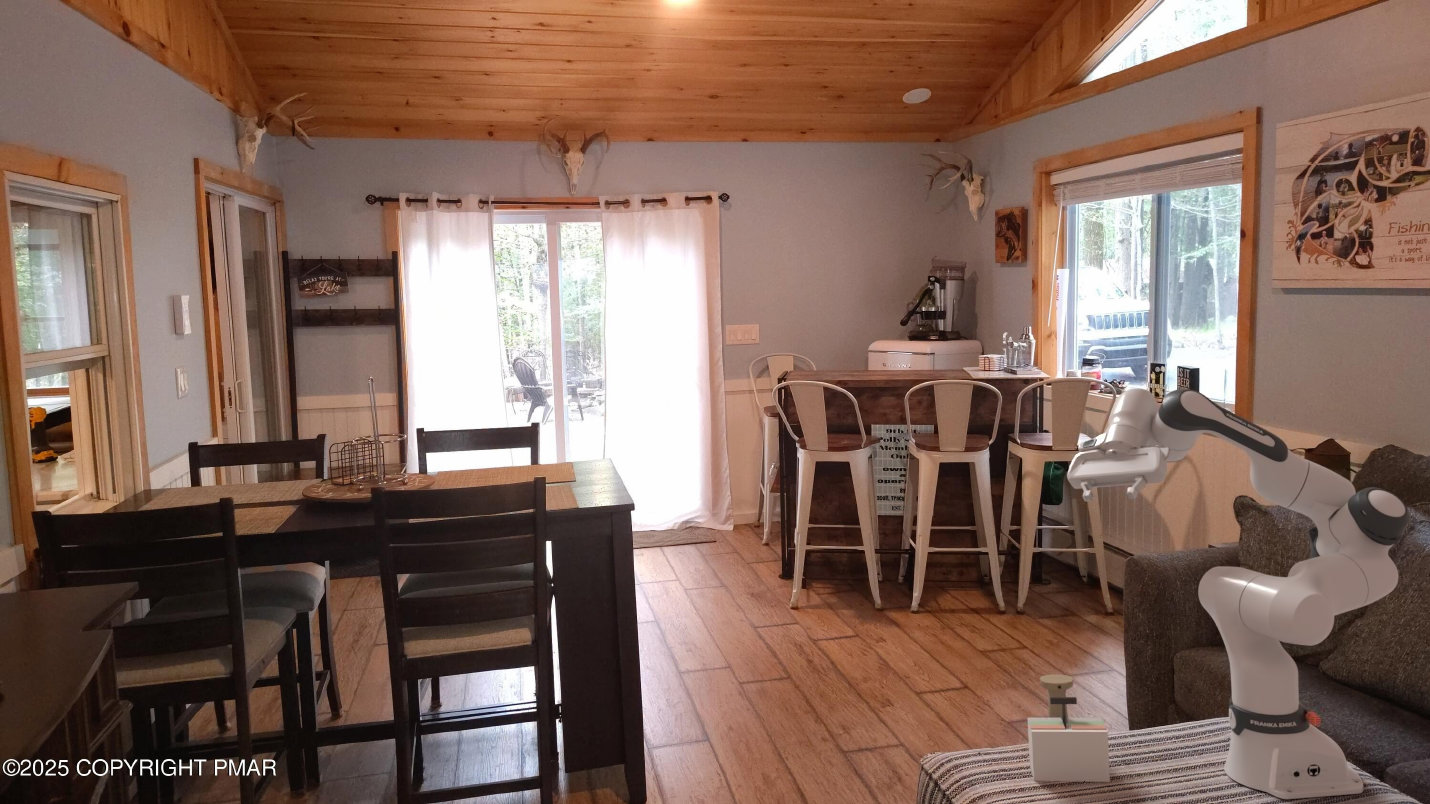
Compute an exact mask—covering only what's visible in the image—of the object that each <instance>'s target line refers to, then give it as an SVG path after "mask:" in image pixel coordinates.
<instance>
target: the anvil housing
mask: <svg viewBox="0 0 1430 804" xmlns="http://www.w3.org/2000/svg"><path fill="white" fill-rule="evenodd" d="M1067 722H1068V729H1065V726H1064V724H1063V721H1062V719H1061V718H1048V717H1027V733H1028V755H1029V757H1028V759H1029V767H1030V771H1031V775H1032V778H1033V781H1034V782H1083V783H1084V781H1085V782H1087V783H1088V782H1090V783H1091V782H1093V783H1094V782H1095V783H1097V782H1098V783H1101V782H1102V783H1110V782H1111V778H1110V777H1111V776H1110V754H1109V753H1110V751H1109V747H1110V746H1109V732H1108V731H1109V730H1108V729H1107V726H1106V724H1105V722H1104V721H1103V718H1102V717H1068V718H1067Z"/></svg>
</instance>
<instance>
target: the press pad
mask: <svg viewBox="0 0 1430 804" xmlns="http://www.w3.org/2000/svg"><path fill="white" fill-rule="evenodd" d="M1077 699H1078V698H1077V696H1066V697H1050V704H1062V721H1063V724H1064V726H1065V729H1068V722H1066V711H1065V704H1067V705H1078V704H1077V703H1078V700H1077Z"/></svg>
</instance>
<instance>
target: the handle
mask: <svg viewBox="0 0 1430 804" xmlns="http://www.w3.org/2000/svg"><path fill="white" fill-rule="evenodd" d="M1039 681H1040V682H1039V683H1040V686H1041V687H1043V688H1044V689H1045V690H1047V692H1048V693H1047V694H1048V710H1047V711H1048V713H1047V718H1061V719H1062V704H1050V697H1067V696H1066V693H1067V690H1069V689H1071V688H1072V687H1074V679H1073V677H1072V676H1070V675H1065V674H1046V675H1042V676H1040V677H1039ZM1067 706H1068V704H1065V711H1066V722H1067V718H1069V716H1068V715H1069V714H1068V713H1069V712H1068V707H1067Z"/></svg>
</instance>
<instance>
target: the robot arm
mask: <svg viewBox="0 0 1430 804" xmlns="http://www.w3.org/2000/svg"><path fill="white" fill-rule="evenodd" d="M1107 424H1108V426H1107V428H1106V429H1105V431H1104V433H1102V434H1100V435H1098V436H1095V437H1093V438H1091V439H1087V440H1085V441H1082V442H1080V443H1079V444H1078V446H1077V448H1078V451H1079V452H1077V454H1075V455H1074V456H1073V458H1072V460H1071V463H1070V465H1069V467H1068V471H1067V473H1066V478H1067V481H1068V482H1069V484H1070V485H1071V486H1072V488H1073V489H1075V490H1079V489H1082V490H1083V492H1082V499H1083V501H1084V502H1093V501H1094V497H1095V495H1094V493H1092V488H1093V489H1094V488H1106V487H1117V486H1118V487H1119V486H1120V487H1121V486H1129V487H1127V491H1126V496H1127V497H1128V499H1129V500H1130V499H1131V500H1132V499H1133V500H1134V499H1137V498H1138V494H1139V493H1140V492H1141V491H1142V490H1143V489H1144V488H1146V486H1147V485H1146V484H1158V483H1159V484H1160V483H1162V482H1163V481H1164V480H1165V479H1166V478H1167V473H1168V472H1167V471H1168V463H1176V462H1180V461H1182V460H1184V459H1185V458H1186V456H1187V455H1188V454H1189V453H1190V451H1191V450H1192V449H1193V447H1194V446H1195V444H1196V442H1197V441H1198V439H1199V438H1200V436H1201V435H1202V434H1210V435H1213V436H1215V437H1217V438H1219V439H1221V440H1222V441H1225V442H1226V443H1229V444H1230V445H1233V446H1235V447H1237V448H1238V449H1240V450H1242V452H1245V454H1246V455H1247V456H1248V458H1249V460H1250V469H1249V478H1250V482H1251V486H1252V487H1253V490H1254V492H1256V494H1257V495H1258V496H1259V497H1261V498H1262V499H1264V500H1265V501H1268V502H1269V503H1272V504H1274V505H1277V506H1280V507H1282V508H1284V509H1288V510H1290V511H1293V512H1296V513H1299V514H1301V515H1303V516H1306V517H1308V518H1309V519H1310V520H1312V521H1313V523H1314V525H1315V526H1313V527H1312V528H1310V529H1309V530H1308V534H1307V535H1308V538H1309V541H1310V543H1309V555H1310V558H1309V559H1305V560H1301V561H1298V562H1296V563H1295V564H1293V566H1292V567H1291V568H1290V570H1289V572H1288V575H1287V576H1286V577H1285V576H1275V575H1271V574H1266V573H1262V572H1259V571H1257V570H1256V571H1255V570H1252V569H1249V568H1248V569H1247V568H1245V567H1241V566H1214V567H1211V568H1210V569H1209V570H1208V571H1206V572H1205V573H1204V574H1203V576H1202V578H1201V579H1200V581H1199V584H1198V590H1197V592H1198V593H1197V594H1198V600H1199V602H1200V604H1201V606H1202V607H1203V609H1204V610H1205V611H1206V612H1207V613H1208V614H1209V616H1210V617H1211V618H1212V620H1213V621H1214V623H1215V625H1216V627H1217V629H1218V631H1219V633H1220V635H1221V638H1222V640H1223V641H1222V642H1223V643H1224V646H1225V650H1226V652H1227V656H1228V662H1229V667H1230V668H1229V669H1230V681H1231V682H1230V683H1231V697H1230V698H1229V707H1228V722H1229V727H1230V731H1231V732H1230V740H1229V749H1228V753H1227V757H1226V760H1225V763H1224V767H1223V768H1224V772H1225V773H1226V775H1227V776H1228V777H1229V778H1230V779H1232V780H1233V781H1235V782H1237V783H1239V784H1240V785H1243V786H1246V787H1248V788H1250V789H1254V790H1259V791H1262V792H1266V793H1267V794H1269V795H1272V796H1274V797H1277V798H1279V799H1283V800H1292V799H1293V800H1295V799H1305V798H1307V799H1308V798H1317V797H1319V798H1320V797H1331V796H1332V797H1333V796H1343V795H1355V794H1357V795H1358V794H1362V793H1363V792H1364V782H1363V780H1362V778H1361V776H1360V775H1359V774H1358V772H1357V771H1356V770H1355V769H1354V768H1353V767H1352V766H1350V765H1349V763H1348V762H1347V758H1346V756H1345V754H1344V751H1343V750H1342V748H1341V747H1340V746H1339V745H1338V743H1337V742H1336V741H1334V739H1332V738H1331V737H1330V736H1328V735H1327V734H1326V733H1324V732H1323V731H1322V730H1320V729H1318V728H1317V726H1319V725H1320V724H1321V723H1322V722H1321V721H1322V720H1321V717H1320V716H1319V715H1317V713H1316V712H1314V711H1311V710H1310V708H1309V707H1307V706H1305V705H1304V704H1302V703H1301V702H1300V699H1299V698H1300V697H1299V670H1298V666H1297V663H1296V662H1295V660H1294V659H1293V658H1292V657H1291V655H1290V654H1289V653H1288V651H1286V650H1285V649H1284V647H1283V646H1282V644H1281V642H1283V643H1288V644H1292V645H1299V646H1310V647H1311V646H1316V645H1319V644H1320V643H1322V642H1323V641H1324V640H1325V639H1326V638H1328V636H1329V635H1330V633H1331V632H1332V630H1333V627H1334V624H1335V616H1337V615H1341V614H1344V613H1346V612H1350V611H1353V610H1356V609H1360V608H1362V607H1365V606H1369V605H1370V604H1373V603H1374V602H1377V601H1379V600H1381V599H1382V598H1384V597H1386V596H1387V595H1389V594H1390V593H1391V592H1393V591H1394V589H1396V587H1397V586H1398V582H1399V571H1398V568H1397V566H1396V563H1394V561H1393V559H1391V557H1390V556H1389V550H1390V549H1391V548H1392V547H1393V546H1394V545H1397V544H1399V543H1400V541H1401V539H1402V537H1403V535H1404V532H1405V531H1406V529H1407V527H1408V524H1409V521H1410V516H1411V515H1410V514H1411V513H1410V511H1409V507H1408V506H1407V505H1406V503H1405V502H1404V501H1403V499H1402V498H1400V497H1399V496H1398V495H1396V494H1395V493H1393V492H1391V491H1389V490H1387V489H1383V488H1380V487H1373V486H1371V487H1370V486H1369V487H1365V488H1363V489H1361V490H1359V491H1358V492H1356V488H1355V486H1354V484H1353V483H1352V482H1351V480H1349V479H1347V478H1346V477H1344V476H1342V475H1341V474H1338V473H1336V472H1335V471H1333V470H1331V469H1329V468H1327V467H1325V466H1322V465H1320V463H1319V464H1318V463H1315V461H1314V462H1313V461H1311V460H1309V459H1306V458H1304V457H1301V456H1299V455H1298V454H1295V453H1294V452H1292V451H1291V450H1290V449H1289V448H1288V445H1287V444H1286V442H1285V441H1284V440H1283V439H1281V438H1280V437H1279V436H1277V435H1276V434H1274V433H1272V432H1271V431H1269V430H1267V429H1265V428H1263V427H1262V426H1260V425H1257V424H1255V423H1253V422H1252V421H1249V420H1248V419H1246V418H1244V417H1242V416H1240V415H1238V414H1236V413H1234V412H1232V411H1230V410H1228V409H1226V408H1224V407H1222V406H1221V405H1219V404H1218V403H1215V402H1214V401H1213V400H1211V399H1210V398H1209V397H1208V396H1206V395H1204V394H1203V393H1202V392H1200V391H1197V390H1194V389H1190V388H1189V389H1187V388H1181V389H1175V390H1172V391H1169V392H1168V393H1167V394H1166V395H1164V397H1163V400H1162V402H1161V404H1159V403H1158V401H1157V400H1156V398H1155V396H1154V394H1153V393H1152V392H1151V391H1149V390H1147V389H1144V388H1139V387H1138V388H1137V387H1136V388H1131V389H1128V390H1125V391H1123V392H1121V394H1119V396H1117V398H1116V400H1115V401H1114V404H1113V405H1112V408H1111V411H1110V415H1109V417H1108V422H1107ZM1131 485H1132V486H1131Z"/></svg>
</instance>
